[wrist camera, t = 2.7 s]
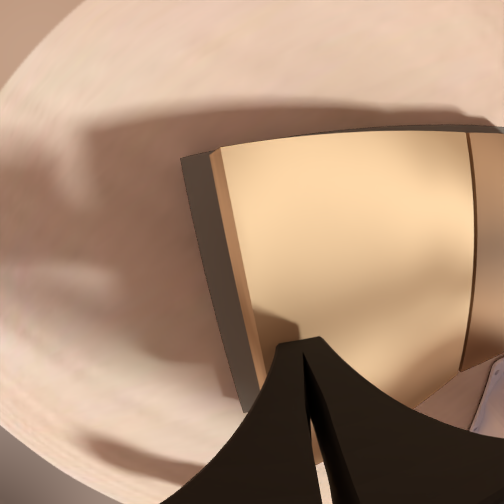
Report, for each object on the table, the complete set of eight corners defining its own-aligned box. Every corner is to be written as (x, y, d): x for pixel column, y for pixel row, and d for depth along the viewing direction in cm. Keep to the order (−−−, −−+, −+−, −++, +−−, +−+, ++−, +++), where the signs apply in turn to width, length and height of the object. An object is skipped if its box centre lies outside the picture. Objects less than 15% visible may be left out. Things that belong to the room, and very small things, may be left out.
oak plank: (440, 364, 15) (457, 374, 13) (276, 455, 12) (288, 476, 10) (441, 134, 11) (465, 132, 10) (209, 154, 8) (220, 147, 7)
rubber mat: (493, 335, 15) (501, 342, 14) (244, 401, 17) (243, 412, 16) (498, 128, 12) (509, 127, 11) (185, 159, 13) (180, 158, 12)
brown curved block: (498, 338, 14) (510, 349, 13) (449, 359, 15) (460, 372, 13) (505, 135, 11) (522, 135, 10) (451, 134, 11) (469, 132, 10)
